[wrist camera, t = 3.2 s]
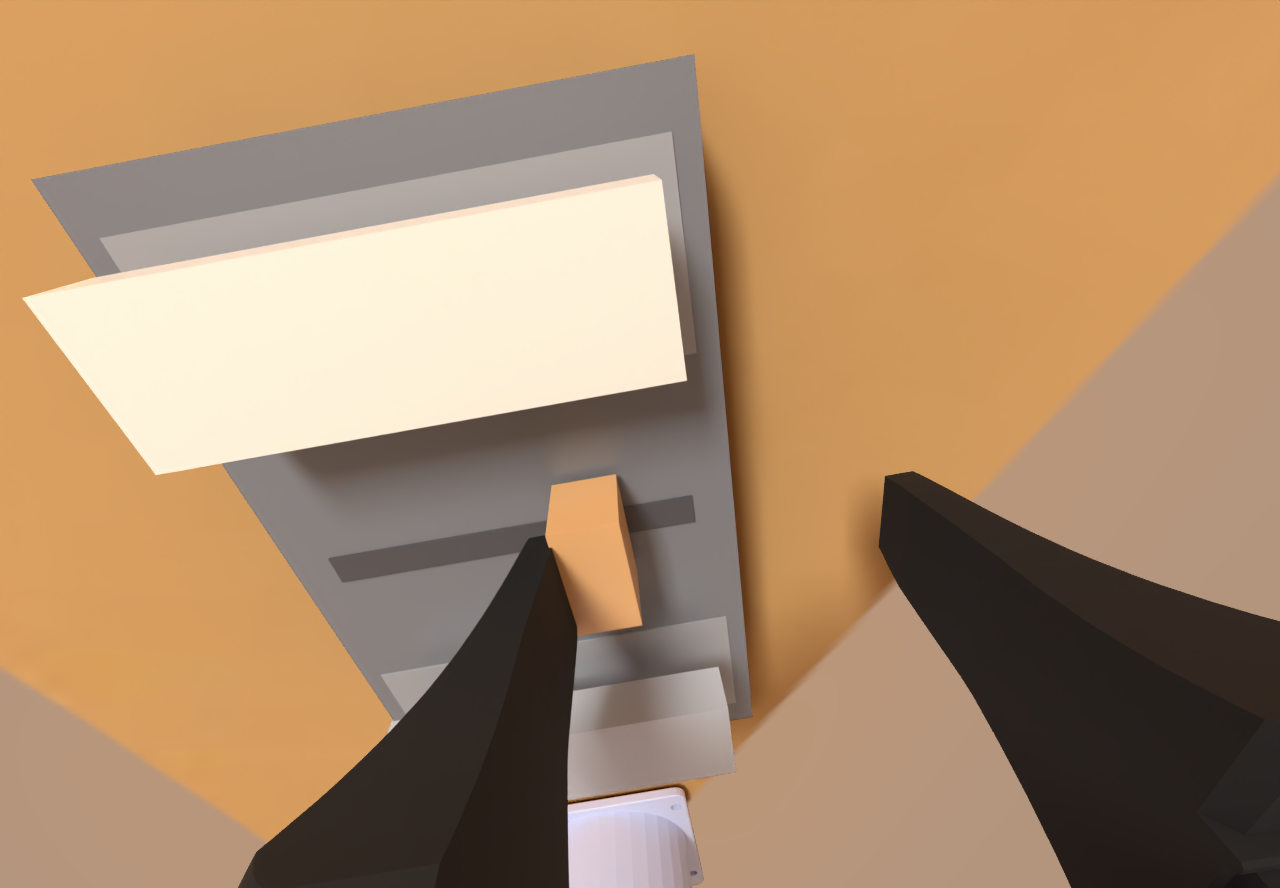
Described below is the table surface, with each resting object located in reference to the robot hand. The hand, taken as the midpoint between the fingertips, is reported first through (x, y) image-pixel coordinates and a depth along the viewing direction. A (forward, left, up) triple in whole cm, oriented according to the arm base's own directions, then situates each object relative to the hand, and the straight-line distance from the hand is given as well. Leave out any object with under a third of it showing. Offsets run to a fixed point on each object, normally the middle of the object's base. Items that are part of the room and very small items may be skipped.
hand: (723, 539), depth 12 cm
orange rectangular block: (0, +3, -1) cm, 3 cm away
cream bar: (+6, +5, 0) cm, 8 cm away
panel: (0, +5, -4) cm, 7 cm away
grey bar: (-6, +5, 0) cm, 8 cm away
